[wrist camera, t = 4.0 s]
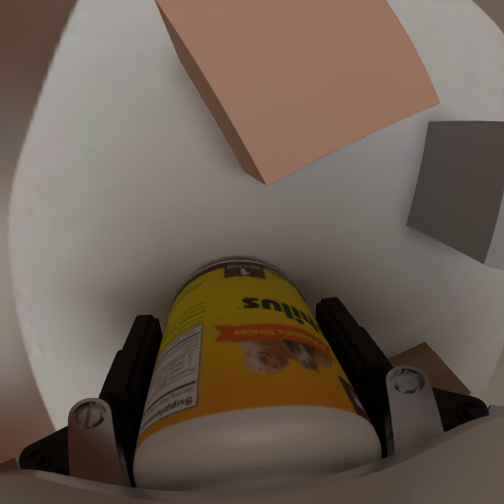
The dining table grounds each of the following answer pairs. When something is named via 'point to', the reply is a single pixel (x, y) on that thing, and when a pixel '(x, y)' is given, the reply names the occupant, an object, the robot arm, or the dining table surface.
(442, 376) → the walnut block
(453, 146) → the slate block
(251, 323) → the supplement bottle
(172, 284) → the dining table surface
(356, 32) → the terracotta block
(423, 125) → the dining table surface
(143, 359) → the robot arm
